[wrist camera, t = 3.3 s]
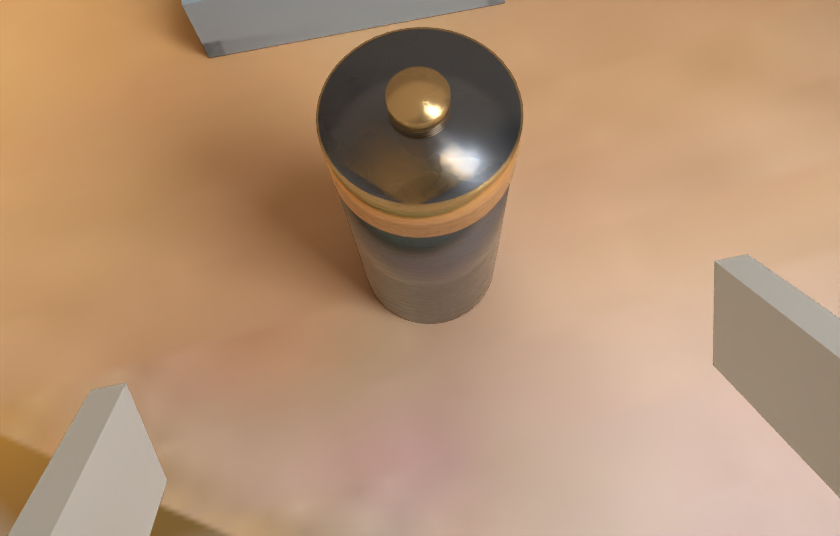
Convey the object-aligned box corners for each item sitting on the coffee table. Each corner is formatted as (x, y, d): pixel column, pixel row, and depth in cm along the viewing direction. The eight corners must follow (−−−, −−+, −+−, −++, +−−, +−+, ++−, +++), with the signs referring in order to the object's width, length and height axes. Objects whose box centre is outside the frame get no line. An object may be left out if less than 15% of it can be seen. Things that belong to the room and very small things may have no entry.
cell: (479, 192, 29) (498, -11, 18) (508, 310, 27) (550, 167, 16) (355, 216, 29) (297, 27, 18) (376, 337, 27) (327, 211, 16)
